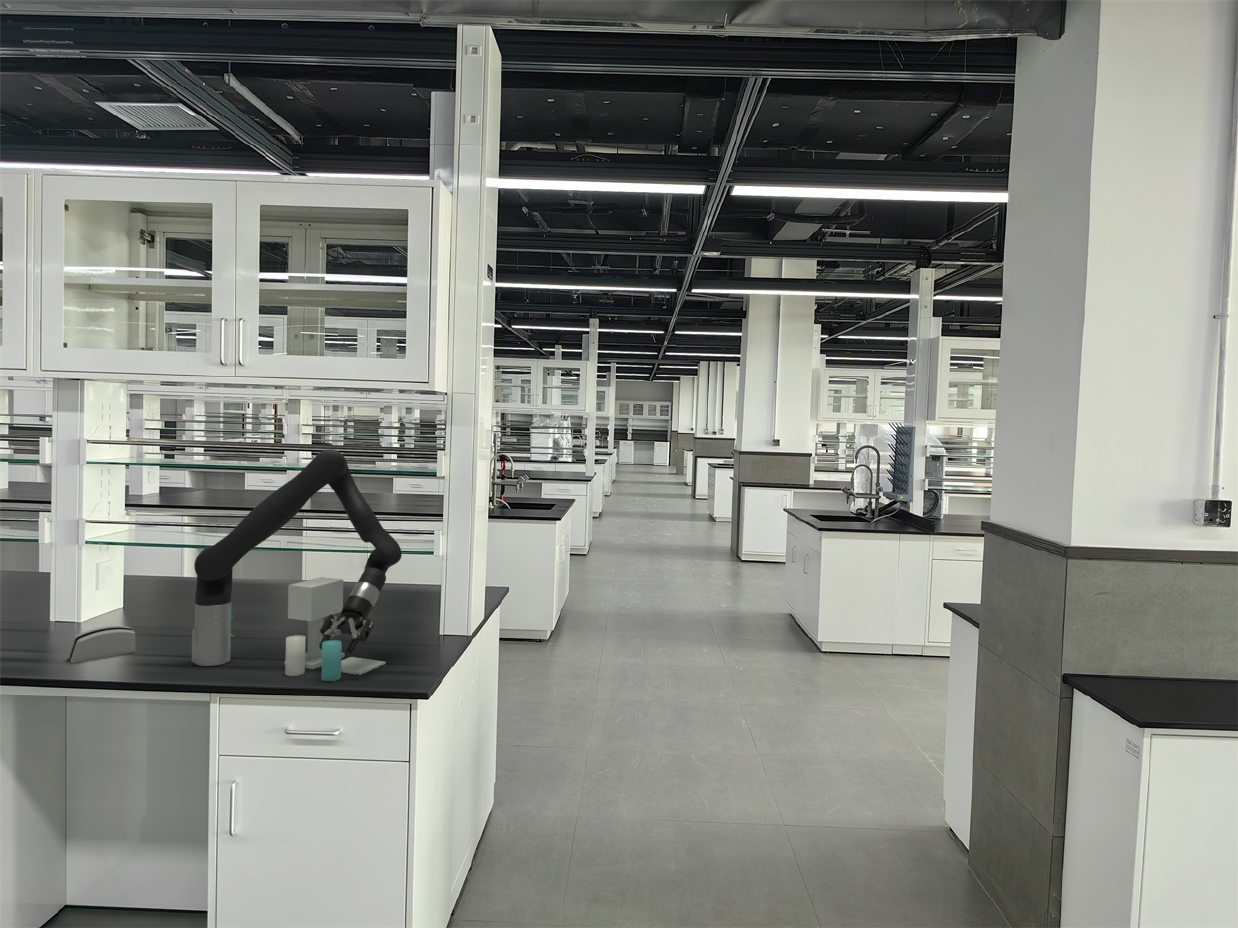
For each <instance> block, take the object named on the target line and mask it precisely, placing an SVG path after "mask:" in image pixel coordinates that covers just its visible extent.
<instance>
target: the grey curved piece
mask: <svg viewBox="0 0 1238 928" xmlns="http://www.w3.org/2000/svg"><path fill="white" fill-rule="evenodd" d="M136 637H137V636H136V632H135V631H134V629H133V628H132V627H130V626H125V625H110V626H109V625H108V626H107V625H105V626H101V627H96V628H92V629H89V630H86V631H83V632H80V633H78V634H76V635H75V636H74V637H73V639H72V643H71V647H70V649H69V653H67V655H66V660H67V661H69V660H70V663H71V664H75V663H82V662H86V661H87V662H88V661H94V660H98V659H105V658H110V657H116V656H121V655H126V654H127V655H129V654H133V653H136Z"/></svg>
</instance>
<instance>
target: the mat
mask: <svg viewBox="0 0 1238 928" xmlns="http://www.w3.org/2000/svg"><path fill="white" fill-rule="evenodd" d="M386 662H387V661H383V660H376V659H369V658H361V657H354V656H350V657H347V658H345V659H341V673H343V674H344V673H345V674H351V675H357V674H358V675H357V676H361V675H364V674H366V673H368V672H370V671H373V670H375V669H377V668H379V666H380V667H382V666H384V665H386V664H387V663H386ZM381 665H382V666H381ZM374 668H375V669H374ZM372 669H373V670H372ZM363 673H364V674H363Z"/></svg>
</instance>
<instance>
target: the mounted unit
mask: <svg viewBox="0 0 1238 928" xmlns="http://www.w3.org/2000/svg"><path fill="white" fill-rule="evenodd" d="M287 595H288V596H287V597H288V598H287V600H288V601H287V619H289V620H290V619H291V620H299V621H307V652H305V669H309V670H315V669H317V668H319V667H322V650H321V649H320V647H319V644H320V642H321V640H322V638H323V637H324V636H323V635H322V633H321V632H320V629H321V628H322V626H323V625H324V618H326V617H328V616H329V615H330V614H332V615H333V616H334V615H337V614H339V613H342V608H343V606H344V579H341V578H332V577H324V576H323V577H321V576H320V577H317V578H312V579H308V580H303V581H300V582H295V583H292V584H288V592H287ZM345 653H346V652H343V651H341V659H342V658H346V655H345ZM283 664H284V666H286V659H285V660H284V661H283Z"/></svg>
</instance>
